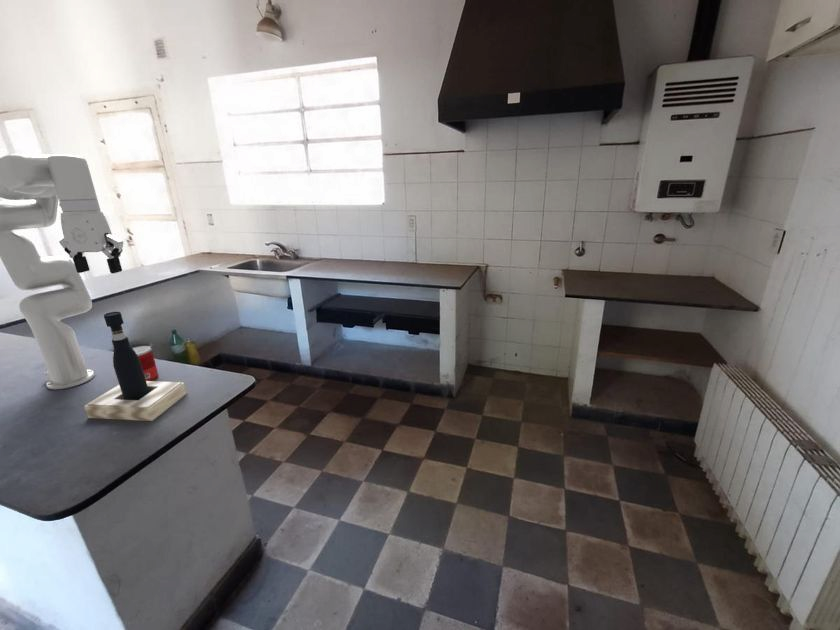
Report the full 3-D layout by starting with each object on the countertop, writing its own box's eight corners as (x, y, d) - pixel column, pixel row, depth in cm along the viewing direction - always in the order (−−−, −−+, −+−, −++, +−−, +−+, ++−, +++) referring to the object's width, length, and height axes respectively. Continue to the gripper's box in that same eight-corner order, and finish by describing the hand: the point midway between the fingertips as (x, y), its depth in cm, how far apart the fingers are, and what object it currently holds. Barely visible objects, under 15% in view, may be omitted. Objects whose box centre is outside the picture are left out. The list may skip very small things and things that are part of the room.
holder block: (88, 417, 112) (83, 404, 110) (129, 391, 126) (126, 379, 124) (152, 421, 110) (148, 407, 109) (186, 393, 124) (183, 381, 123)
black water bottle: (131, 413, 114) (101, 319, 104) (123, 406, 118) (94, 314, 107) (155, 403, 119) (129, 312, 109) (147, 397, 122) (121, 308, 112)
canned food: (163, 374, 137) (156, 346, 133) (146, 385, 129) (138, 356, 126) (144, 373, 138) (136, 345, 134) (125, 384, 130) (116, 355, 126)
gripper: (35, 208, 95) (57, 274, 101) (99, 208, 94) (118, 275, 100) (64, 205, 102) (83, 268, 108) (123, 205, 101) (140, 269, 107)
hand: (100, 272), depth 104 cm, fingers open, 9 cm apart
